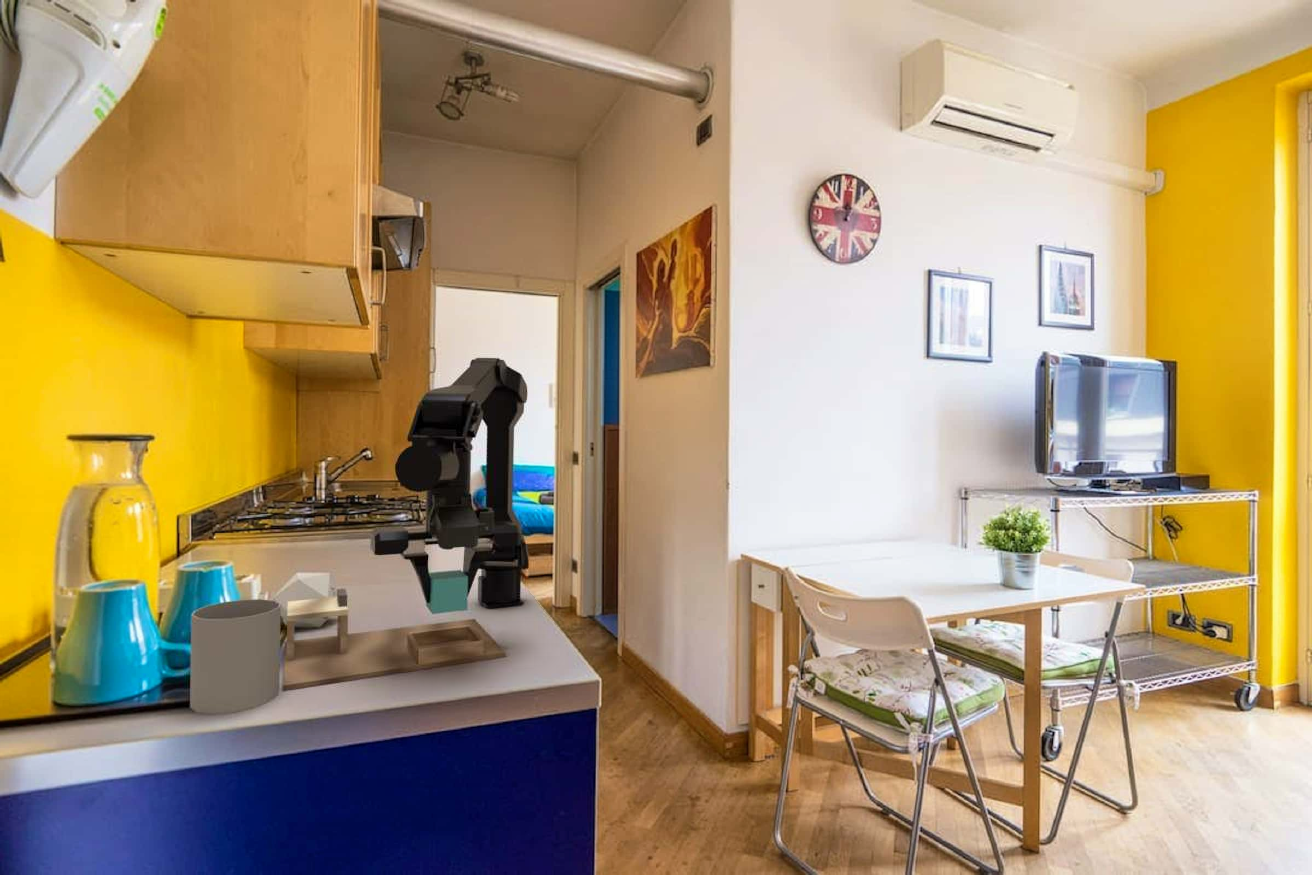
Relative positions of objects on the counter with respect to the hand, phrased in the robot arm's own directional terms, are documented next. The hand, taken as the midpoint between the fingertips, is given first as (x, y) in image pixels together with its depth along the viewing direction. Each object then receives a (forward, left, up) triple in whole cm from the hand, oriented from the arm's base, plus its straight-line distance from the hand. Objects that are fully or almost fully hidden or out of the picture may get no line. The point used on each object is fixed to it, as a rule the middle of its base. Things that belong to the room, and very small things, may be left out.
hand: (446, 600), depth 88 cm
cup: (+24, +4, -8) cm, 25 cm away
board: (+6, -4, -7) cm, 10 cm away
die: (+16, -23, -8) cm, 29 cm away
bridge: (+15, -8, -7) cm, 19 cm away
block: (0, 0, -1) cm, 1 cm away
